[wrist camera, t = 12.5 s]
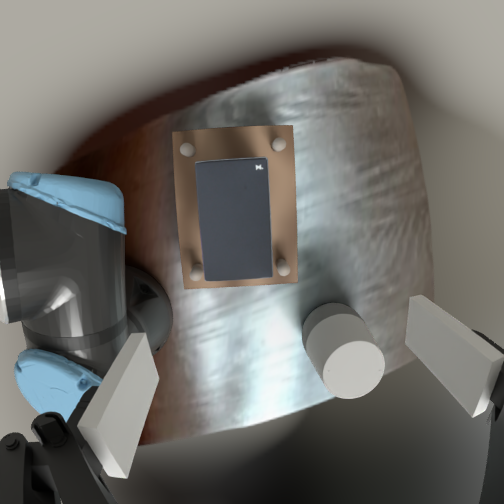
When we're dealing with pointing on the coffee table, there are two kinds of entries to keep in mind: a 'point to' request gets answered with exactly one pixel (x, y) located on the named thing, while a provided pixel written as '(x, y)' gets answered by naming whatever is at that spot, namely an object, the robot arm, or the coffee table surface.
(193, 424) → the coffee table surface
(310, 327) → the smart speaker
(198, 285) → the pegged wooden board
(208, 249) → the small box
